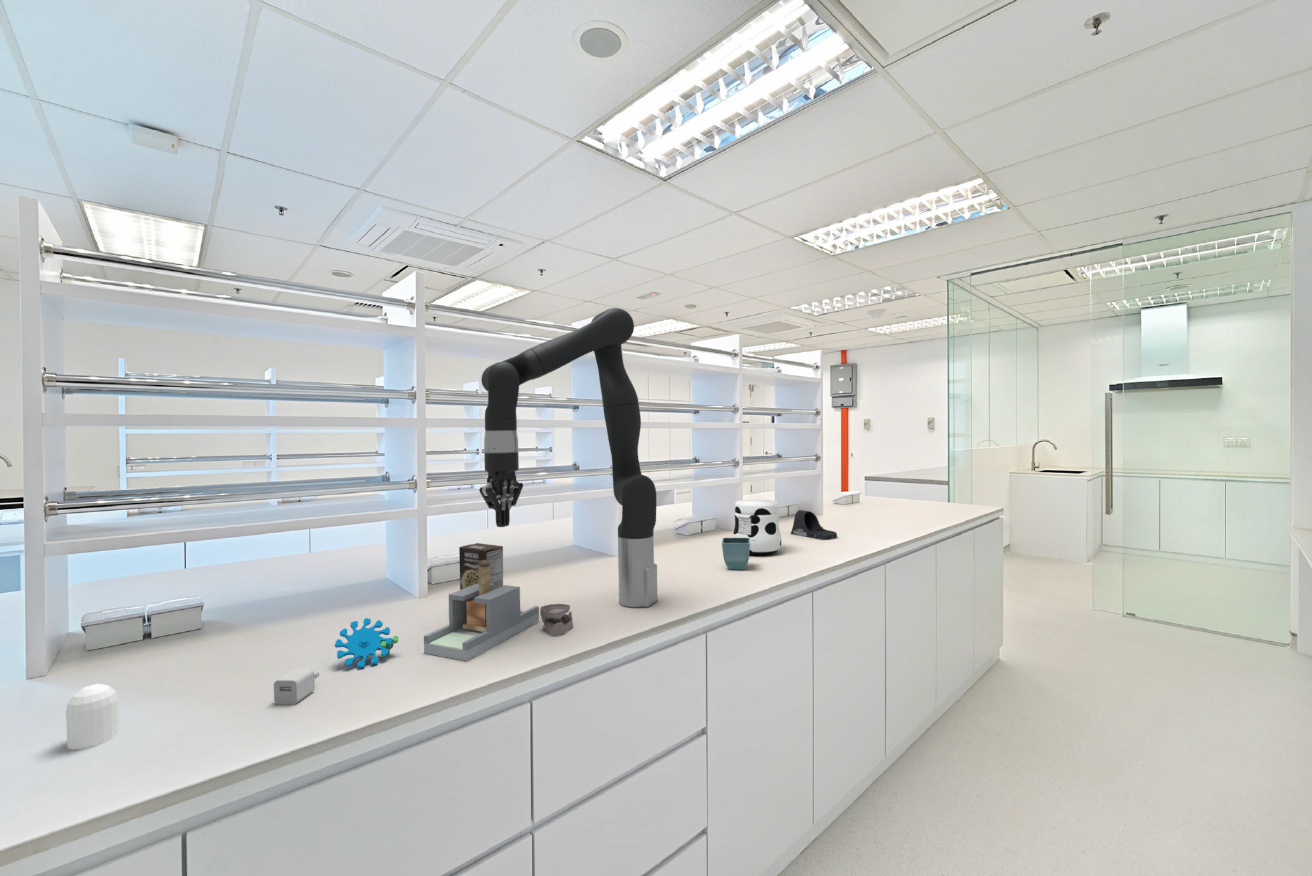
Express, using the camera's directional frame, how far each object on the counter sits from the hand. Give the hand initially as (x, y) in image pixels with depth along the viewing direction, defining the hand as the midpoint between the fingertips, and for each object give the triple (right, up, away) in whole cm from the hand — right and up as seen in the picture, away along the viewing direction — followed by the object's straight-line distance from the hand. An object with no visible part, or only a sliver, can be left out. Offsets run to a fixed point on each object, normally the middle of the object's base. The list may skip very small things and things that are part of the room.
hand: (502, 526), depth 127 cm
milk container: (+71, -21, +73) cm, 104 cm away
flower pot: (+61, -22, +50) cm, 82 cm away
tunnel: (-2, -23, -6) cm, 24 cm away
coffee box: (-9, -23, +12) cm, 28 cm away
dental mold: (+13, -23, -2) cm, 26 cm away
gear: (-22, -24, -18) cm, 37 cm away
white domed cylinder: (-48, -25, -45) cm, 70 cm away
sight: (+100, -21, +101) cm, 144 cm away
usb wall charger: (-26, -24, -31) cm, 47 cm away
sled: (-2, -21, -6) cm, 22 cm away
